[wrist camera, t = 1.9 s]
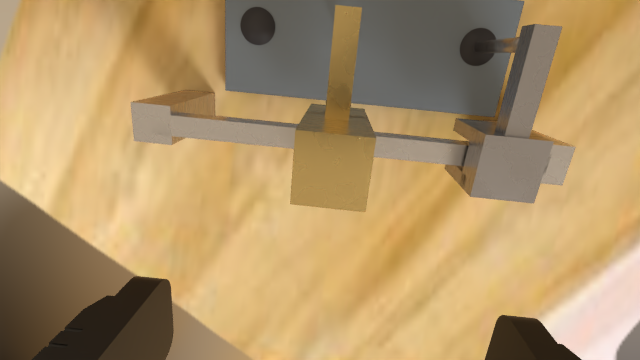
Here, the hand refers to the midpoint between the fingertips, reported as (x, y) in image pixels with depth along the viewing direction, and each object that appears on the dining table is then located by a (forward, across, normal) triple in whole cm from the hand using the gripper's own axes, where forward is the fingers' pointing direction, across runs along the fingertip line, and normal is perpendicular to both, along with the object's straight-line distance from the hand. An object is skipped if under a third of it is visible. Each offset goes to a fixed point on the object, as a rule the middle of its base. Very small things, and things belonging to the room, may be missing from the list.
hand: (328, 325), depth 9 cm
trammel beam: (+29, -1, -4) cm, 29 cm away
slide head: (+27, 0, -4) cm, 27 cm away
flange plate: (+29, -2, -8) cm, 30 cm away
